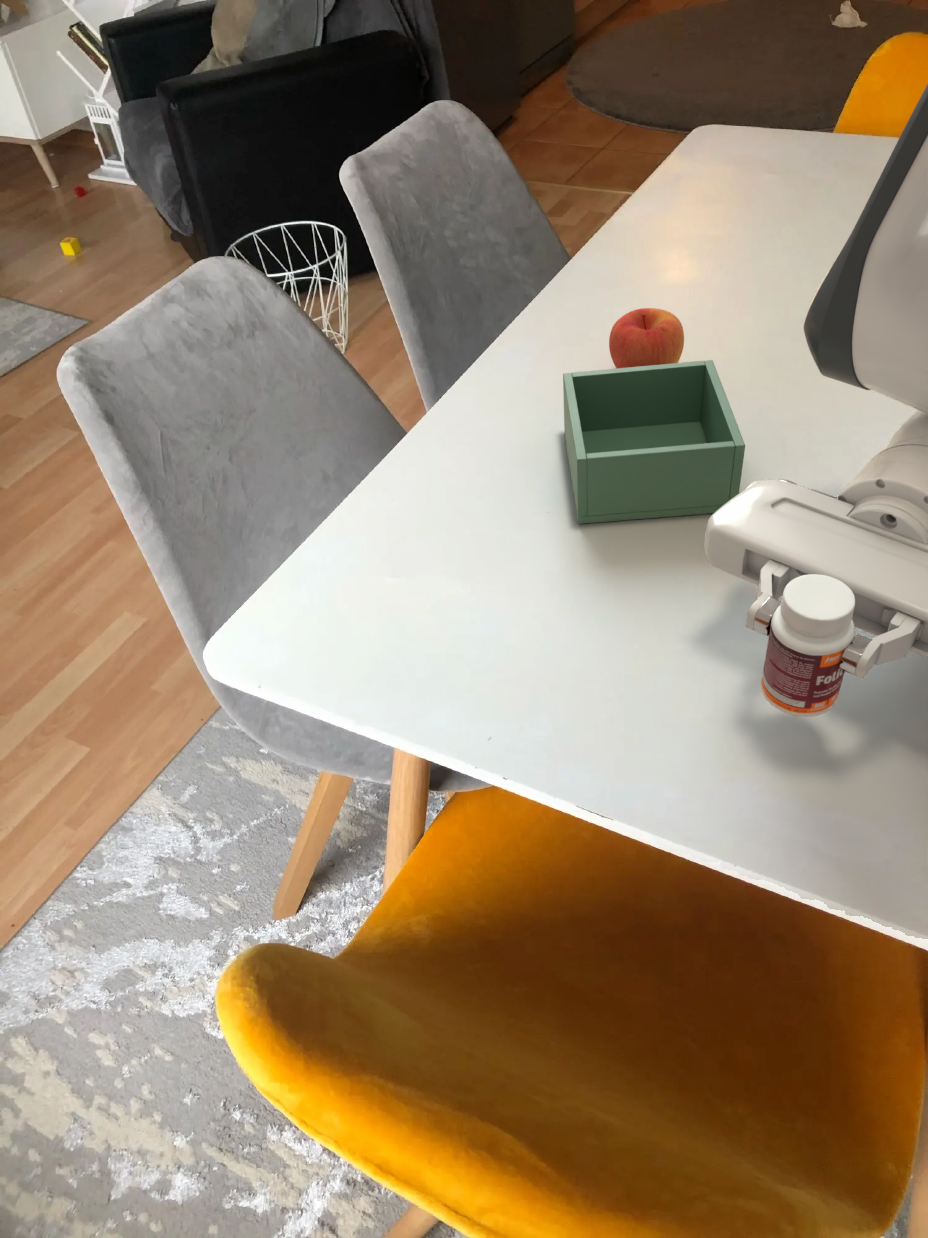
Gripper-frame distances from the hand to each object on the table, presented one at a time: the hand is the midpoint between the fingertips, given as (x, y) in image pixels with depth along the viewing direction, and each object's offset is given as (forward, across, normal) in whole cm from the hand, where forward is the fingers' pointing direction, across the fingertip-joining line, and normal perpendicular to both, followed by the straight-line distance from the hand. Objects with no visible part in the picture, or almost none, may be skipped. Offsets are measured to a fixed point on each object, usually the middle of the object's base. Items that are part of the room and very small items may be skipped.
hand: (804, 645), depth 58 cm
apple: (-34, -33, +10) cm, 49 cm away
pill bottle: (-1, 0, +5) cm, 5 cm away
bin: (-21, -25, +10) cm, 34 cm away
